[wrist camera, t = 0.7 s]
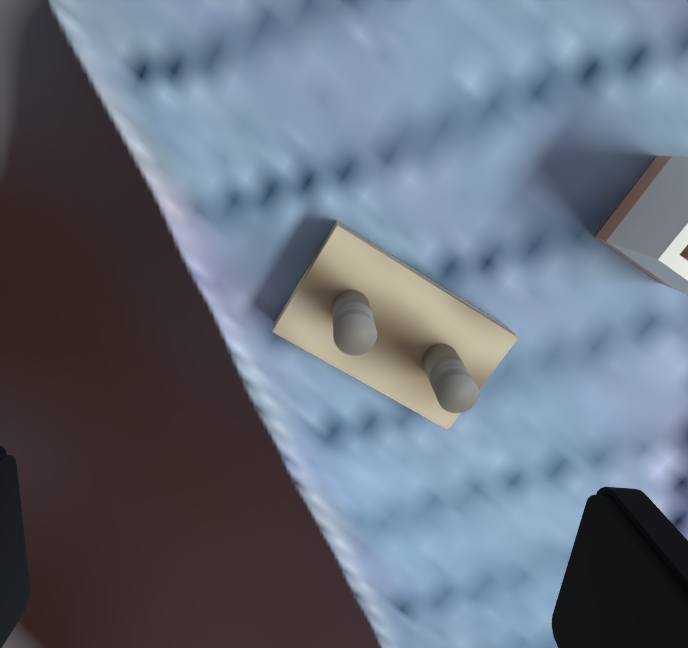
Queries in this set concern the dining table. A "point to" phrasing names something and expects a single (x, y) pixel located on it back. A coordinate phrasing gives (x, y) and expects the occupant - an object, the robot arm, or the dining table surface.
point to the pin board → (393, 328)
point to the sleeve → (654, 223)
